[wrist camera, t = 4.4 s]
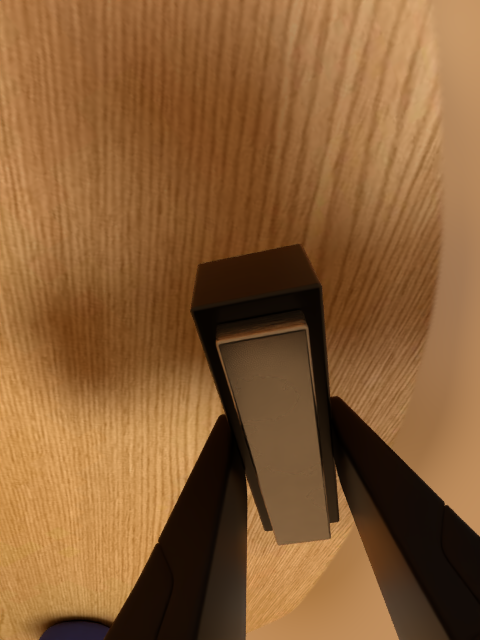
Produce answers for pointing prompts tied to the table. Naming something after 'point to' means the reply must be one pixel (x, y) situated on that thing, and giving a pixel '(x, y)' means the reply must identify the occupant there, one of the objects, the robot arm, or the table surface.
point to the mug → (75, 631)
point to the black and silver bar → (273, 383)
